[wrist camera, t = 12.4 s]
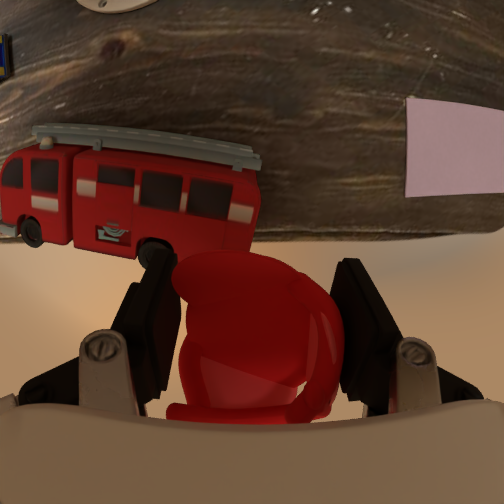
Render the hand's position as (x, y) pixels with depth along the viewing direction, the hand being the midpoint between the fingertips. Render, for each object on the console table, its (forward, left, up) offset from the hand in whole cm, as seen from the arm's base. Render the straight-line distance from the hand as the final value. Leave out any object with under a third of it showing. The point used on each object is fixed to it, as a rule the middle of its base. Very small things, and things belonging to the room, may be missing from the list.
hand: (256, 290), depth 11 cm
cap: (0, -3, +4) cm, 5 cm away
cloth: (+23, +1, -18) cm, 29 cm away
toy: (-12, -4, -14) cm, 19 cm away
